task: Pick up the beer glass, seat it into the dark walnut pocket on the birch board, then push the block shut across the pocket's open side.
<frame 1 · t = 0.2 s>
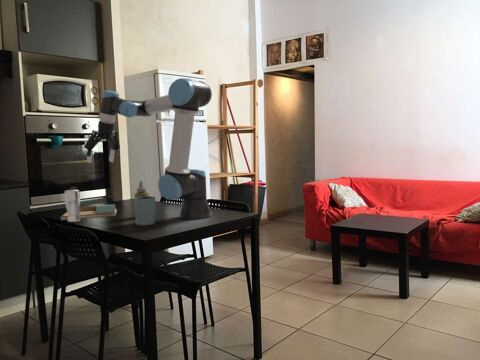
hand: (100, 162, 218), 28 cm above the table, tool tilted 20°, fingers open, 13 cm apart
block: (105, 209, 218), point 4 cm above the table, slide at 0.0 cm
squeeze bottle: (143, 217, 211), on the table
board: (90, 215, 222), on the table
beer glass: (74, 221, 208), on the table
drinking glass: (145, 223, 194), on the table
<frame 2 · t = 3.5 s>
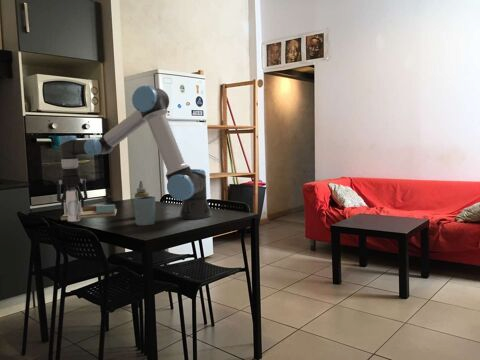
hand: (73, 214, 207), 3 cm above the table, tool pointing down, fingers closed on beer glass, 6 cm apart
beer glass: (74, 221, 208), on the table, touching gripper
everything else where it was.
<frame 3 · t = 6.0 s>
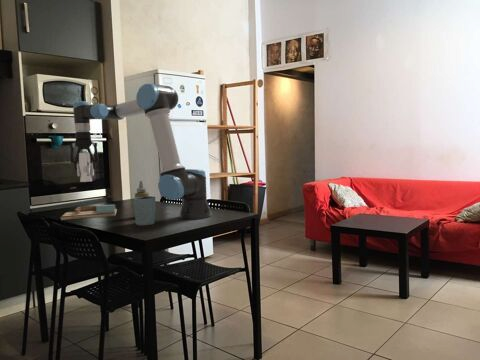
hand: (85, 175, 222), 21 cm above the table, tool pointing down, fingers closed on beer glass, 6 cm apart
beer glass: (86, 181, 222), point 18 cm above the table, touching gripper
everything else where it was.
when the fingers open (5 cm above the table, at t = 8.7 s): beer glass drops 1 cm, resting on board.
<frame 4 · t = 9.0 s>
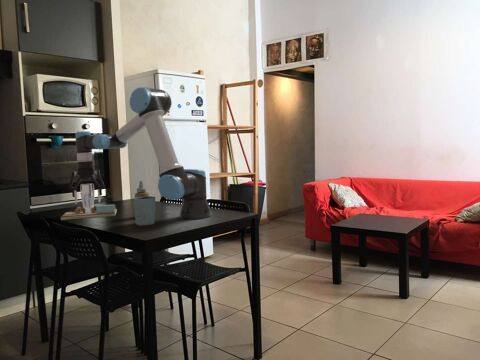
hand: (87, 202, 224), 6 cm above the table, tool pointing down, fingers open, 11 cm apart
beer glass: (88, 212, 224), point 1 cm above the table, touching board
everything else where it was.
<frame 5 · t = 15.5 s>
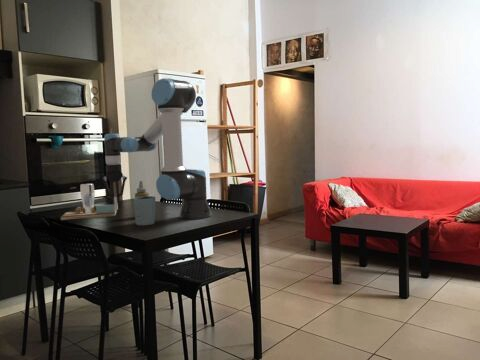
hand: (116, 209, 219), 3 cm above the table, tool pointing down, fingers closed
block: (105, 209, 218), point 4 cm above the table, slide at 0.0 cm, touching gripper
everything else where it was.
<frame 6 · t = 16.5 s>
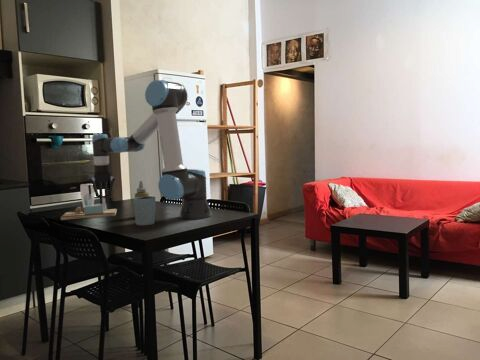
hand: (104, 210, 218), 3 cm above the table, tool pointing down, fingers closed
block: (93, 210, 216), point 4 cm above the table, slide at 5.8 cm, touching gripper
everything else where it was.
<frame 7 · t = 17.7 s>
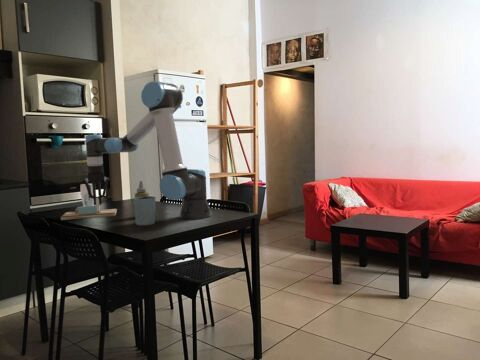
hand: (98, 211, 217), 3 cm above the table, tool pointing down, fingers closed
block: (87, 210, 216), point 4 cm above the table, slide at 8.9 cm, touching gripper
everything else where it was.
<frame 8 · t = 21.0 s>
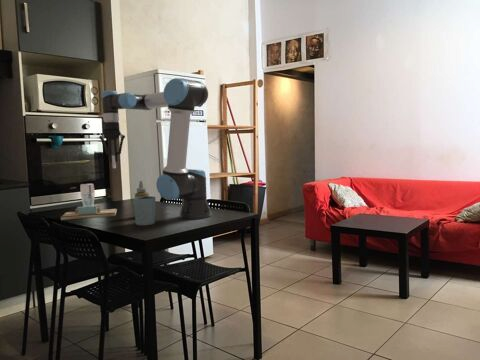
hand: (114, 168, 217), 24 cm above the table, tool pointing down, fingers closed
block: (87, 210, 216), point 4 cm above the table, slide at 8.9 cm
everything else where it was.
at the end: beer glass inside the target area (0.2 cm from its centre), point 1.0 cm above the table; beer glass tilted 0°; block slide at 8.9 cm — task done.
